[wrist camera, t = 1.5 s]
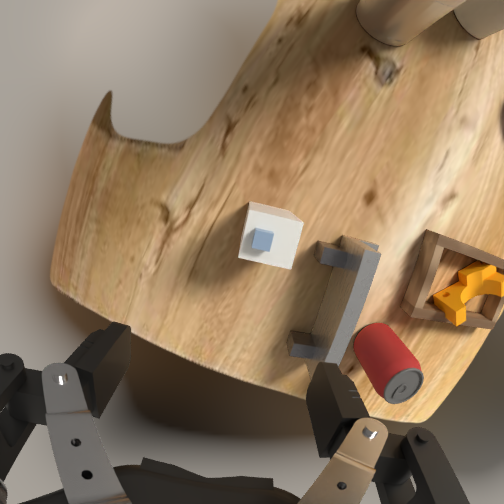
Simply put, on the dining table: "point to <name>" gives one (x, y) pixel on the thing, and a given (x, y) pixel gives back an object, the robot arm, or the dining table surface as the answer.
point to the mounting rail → (337, 301)
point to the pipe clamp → (469, 290)
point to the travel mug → (481, 17)
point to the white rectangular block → (270, 235)
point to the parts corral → (425, 276)
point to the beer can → (388, 363)
